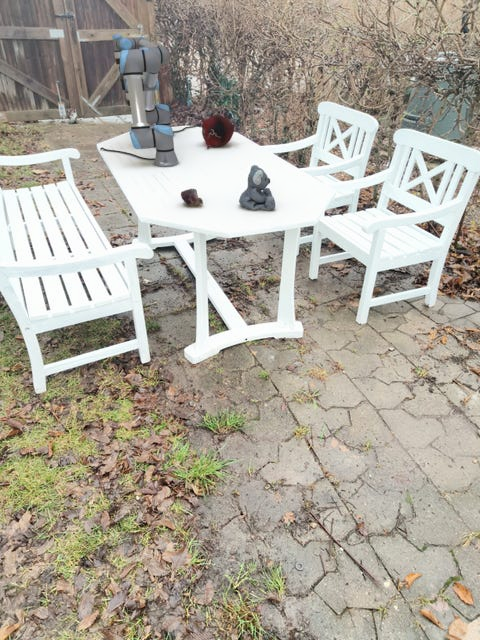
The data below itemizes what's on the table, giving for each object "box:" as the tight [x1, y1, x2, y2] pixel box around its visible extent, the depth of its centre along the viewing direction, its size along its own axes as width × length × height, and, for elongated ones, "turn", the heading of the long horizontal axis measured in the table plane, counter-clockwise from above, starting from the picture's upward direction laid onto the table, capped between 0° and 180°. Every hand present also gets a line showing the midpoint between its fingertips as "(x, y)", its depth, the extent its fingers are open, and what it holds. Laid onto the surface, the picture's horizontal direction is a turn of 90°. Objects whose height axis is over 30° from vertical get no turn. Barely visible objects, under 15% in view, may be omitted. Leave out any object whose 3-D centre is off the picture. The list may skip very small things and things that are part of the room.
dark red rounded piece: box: [200, 114, 235, 150], centre depth 329 cm, size 21×24×25 cm
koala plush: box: [238, 164, 276, 211], centre depth 224 cm, size 17×18×20 cm
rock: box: [180, 188, 204, 207], centre depth 229 cm, size 12×9×10 cm
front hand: (136, 134), depth 328 cm, fingers closed on block, 5 cm apart
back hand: (124, 88), depth 359 cm, fingers open, 13 cm apart
